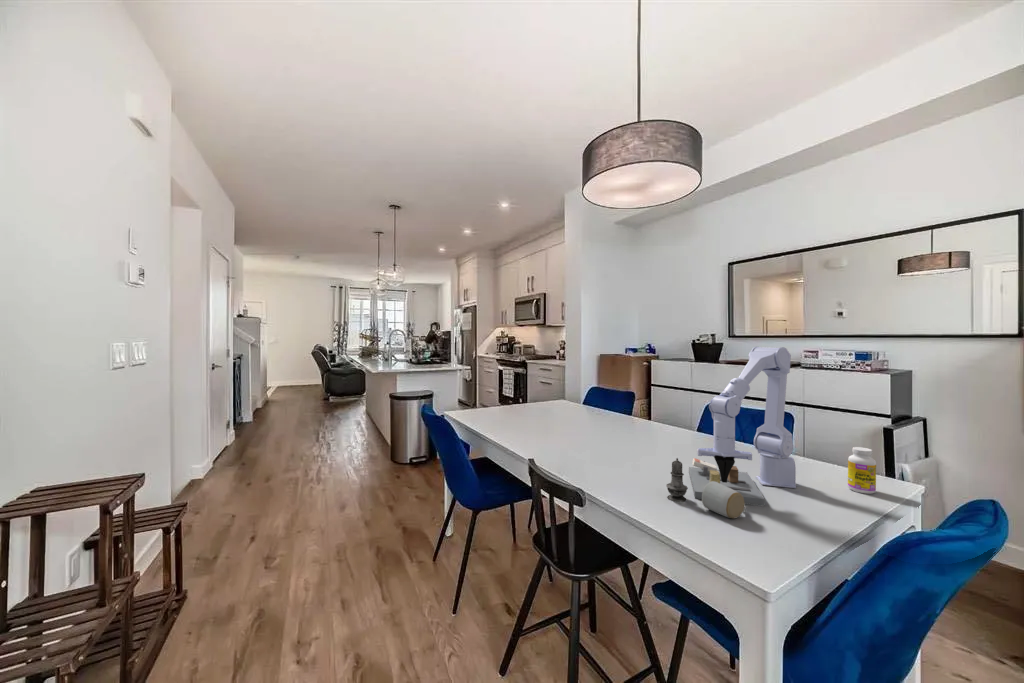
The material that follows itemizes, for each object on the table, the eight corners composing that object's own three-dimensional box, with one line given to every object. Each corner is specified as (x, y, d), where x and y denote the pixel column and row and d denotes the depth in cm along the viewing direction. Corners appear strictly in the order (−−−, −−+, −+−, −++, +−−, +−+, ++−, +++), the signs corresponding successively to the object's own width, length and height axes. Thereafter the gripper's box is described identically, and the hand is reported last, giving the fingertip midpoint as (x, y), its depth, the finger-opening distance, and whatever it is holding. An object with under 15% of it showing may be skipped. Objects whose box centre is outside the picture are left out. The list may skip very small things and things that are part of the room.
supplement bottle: (851, 492, 127) (851, 450, 127) (844, 485, 133) (845, 445, 133) (879, 496, 124) (880, 452, 124) (871, 488, 130) (871, 447, 130)
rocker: (713, 469, 141) (715, 464, 141) (715, 473, 136) (717, 468, 136) (692, 462, 143) (693, 457, 143) (693, 466, 138) (694, 461, 138)
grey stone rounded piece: (689, 503, 119) (690, 461, 119) (667, 501, 120) (668, 460, 120) (685, 495, 125) (685, 455, 124) (664, 494, 126) (665, 454, 126)
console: (747, 478, 140) (747, 464, 139) (764, 506, 117) (765, 489, 117) (688, 472, 145) (688, 458, 145) (694, 498, 123) (694, 481, 123)
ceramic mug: (728, 522, 107) (728, 492, 106) (700, 510, 114) (701, 482, 114) (754, 515, 111) (754, 486, 111) (726, 504, 119) (726, 477, 119)
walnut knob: (735, 478, 133) (736, 466, 132) (738, 482, 129) (738, 469, 129) (727, 477, 133) (727, 465, 133) (729, 482, 130) (729, 469, 129)
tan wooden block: (718, 484, 128) (718, 470, 128) (720, 488, 124) (720, 475, 124) (709, 483, 129) (709, 470, 129) (711, 487, 125) (711, 474, 125)
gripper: (699, 437, 124) (698, 483, 124) (754, 441, 119) (754, 488, 119) (696, 432, 131) (696, 475, 131) (749, 435, 126) (749, 480, 126)
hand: (723, 481), depth 125 cm, fingers closed
